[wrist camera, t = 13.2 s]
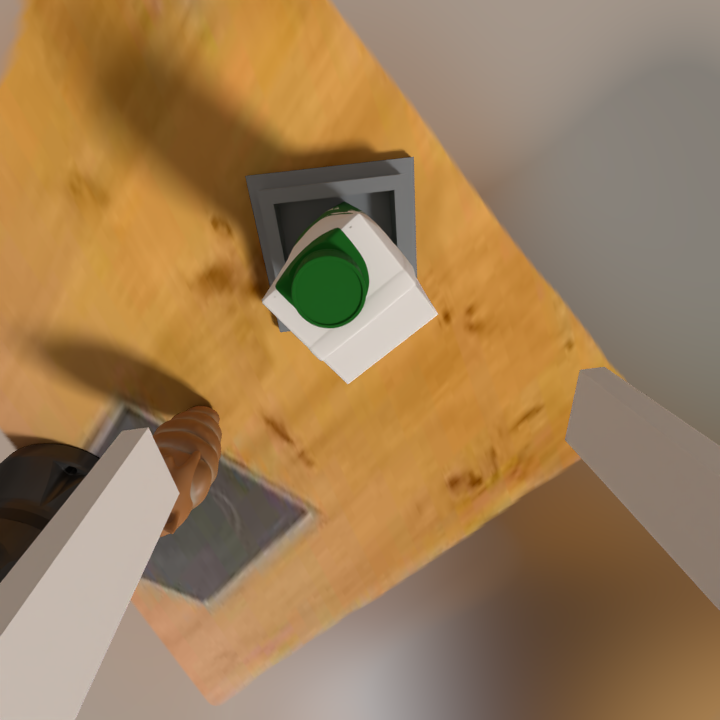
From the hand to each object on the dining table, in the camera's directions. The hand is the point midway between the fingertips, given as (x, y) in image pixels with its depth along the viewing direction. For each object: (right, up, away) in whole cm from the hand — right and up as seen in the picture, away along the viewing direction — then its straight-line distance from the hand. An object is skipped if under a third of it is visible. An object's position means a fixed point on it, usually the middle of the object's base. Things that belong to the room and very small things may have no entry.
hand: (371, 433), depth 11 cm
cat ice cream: (-21, -4, +35) cm, 41 cm away
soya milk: (-2, +14, +26) cm, 30 cm away
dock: (-3, +14, +27) cm, 31 cm away
